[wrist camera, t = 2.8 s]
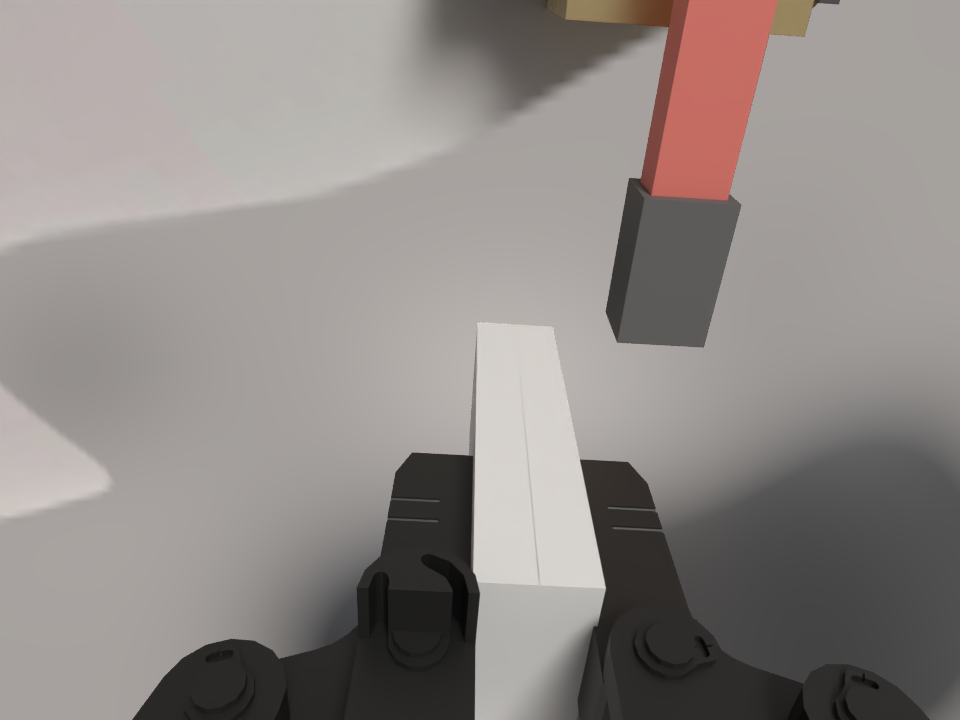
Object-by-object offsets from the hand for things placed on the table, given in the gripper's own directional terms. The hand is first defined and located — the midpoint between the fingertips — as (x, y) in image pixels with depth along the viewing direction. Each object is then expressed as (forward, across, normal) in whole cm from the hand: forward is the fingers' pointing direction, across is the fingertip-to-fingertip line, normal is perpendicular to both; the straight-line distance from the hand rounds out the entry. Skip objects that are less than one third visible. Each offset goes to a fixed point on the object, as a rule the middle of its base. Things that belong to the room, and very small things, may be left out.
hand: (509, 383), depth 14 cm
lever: (+11, +6, +4) cm, 13 cm away
